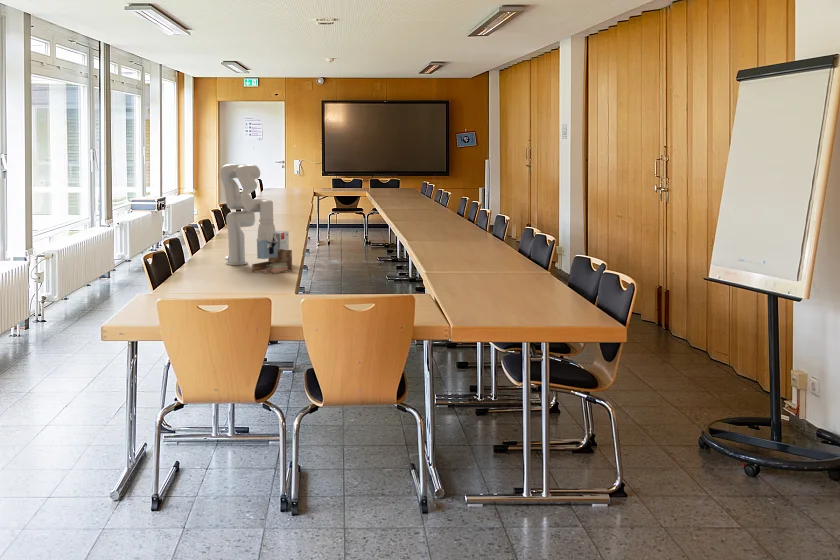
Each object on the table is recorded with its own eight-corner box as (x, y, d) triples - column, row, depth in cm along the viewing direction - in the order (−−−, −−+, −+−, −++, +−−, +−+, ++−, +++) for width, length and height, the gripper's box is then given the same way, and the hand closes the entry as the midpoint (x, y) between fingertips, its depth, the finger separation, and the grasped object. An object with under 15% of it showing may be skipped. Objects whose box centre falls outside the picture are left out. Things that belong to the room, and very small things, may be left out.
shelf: (252, 271, 500) (251, 251, 498) (270, 268, 513) (270, 248, 511) (274, 274, 492) (274, 253, 490) (292, 270, 506) (291, 249, 504)
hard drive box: (280, 267, 520) (279, 233, 516) (268, 266, 521) (267, 233, 518) (289, 263, 535) (288, 230, 531) (277, 262, 536) (276, 230, 533)
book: (257, 258, 498) (256, 241, 497) (270, 256, 508) (270, 239, 507) (264, 259, 496) (263, 241, 494) (277, 256, 506) (277, 239, 504)
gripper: (250, 221, 500) (251, 253, 503) (274, 223, 492) (275, 255, 494) (259, 220, 506) (260, 251, 509) (282, 222, 498) (283, 253, 501)
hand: (267, 253), depth 502 cm, fingers closed on book, 5 cm apart
